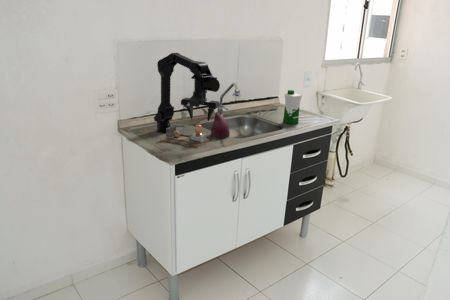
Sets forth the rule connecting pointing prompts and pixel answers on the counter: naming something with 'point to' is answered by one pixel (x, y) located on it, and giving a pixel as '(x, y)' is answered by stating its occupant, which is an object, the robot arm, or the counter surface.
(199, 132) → the ram
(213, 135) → the vegetable
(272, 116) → the counter surface
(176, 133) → the press bench
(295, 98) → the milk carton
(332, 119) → the counter surface
